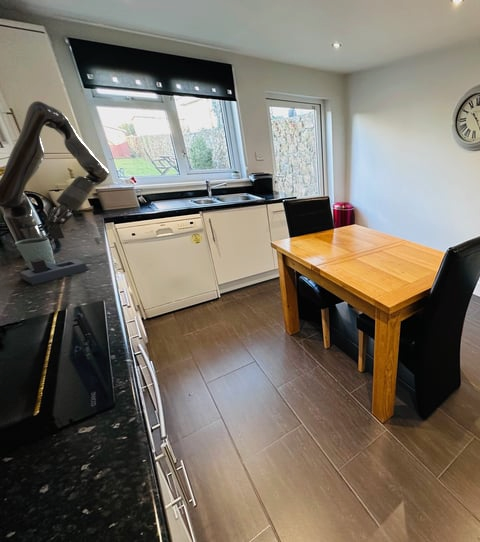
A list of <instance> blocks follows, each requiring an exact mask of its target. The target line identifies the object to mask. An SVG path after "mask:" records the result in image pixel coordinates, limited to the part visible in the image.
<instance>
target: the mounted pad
mask: <svg viewBox="0 0 480 542" xmlns="http://www.w3.org/2000/svg"><path fill="white" fill-rule="evenodd" d="M30 262H31V264H32V266H33V268H34V270H35V272H36V273H40V272H44V271H48V268H47V266H46V263H45V261H44V260H43V259H40V258H39V259H34V260H30Z"/></svg>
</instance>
